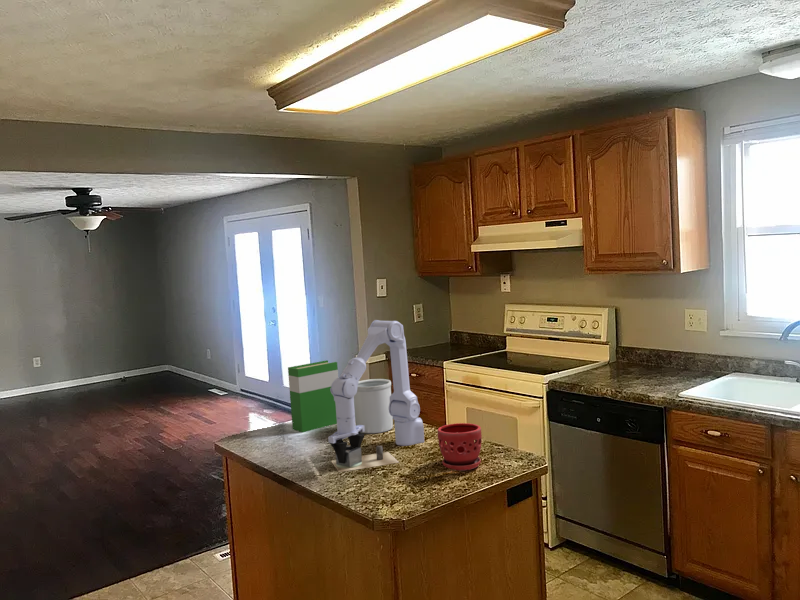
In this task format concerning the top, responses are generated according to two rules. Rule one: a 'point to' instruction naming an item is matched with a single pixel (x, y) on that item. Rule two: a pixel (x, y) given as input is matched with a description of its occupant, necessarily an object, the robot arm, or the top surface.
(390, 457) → the board
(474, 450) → the plant pot
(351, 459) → the steel collar
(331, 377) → the hardback book
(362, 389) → the utensil holder
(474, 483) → the top surface
